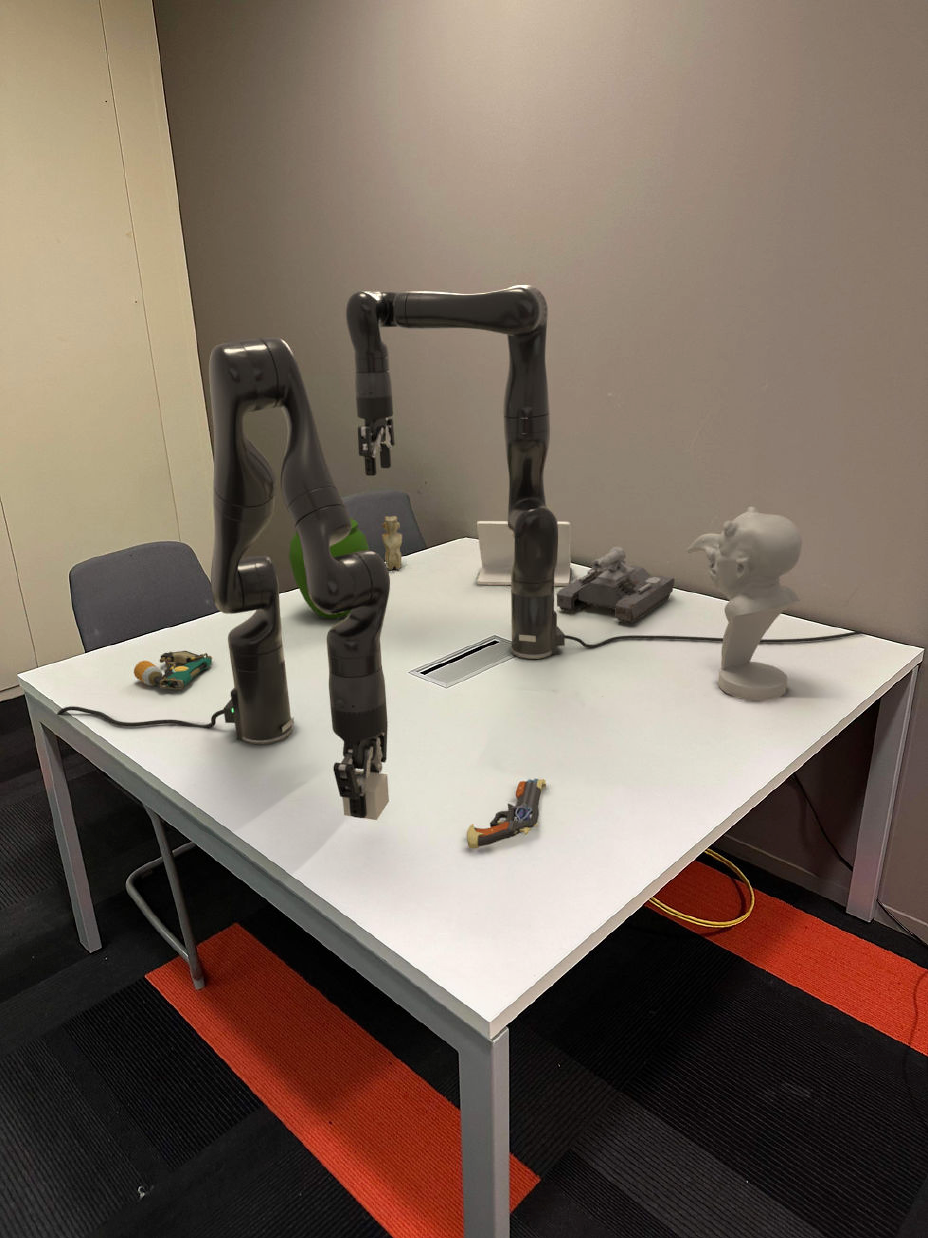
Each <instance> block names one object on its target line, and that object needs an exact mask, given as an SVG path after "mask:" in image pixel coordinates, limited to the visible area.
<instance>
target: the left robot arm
mask: <svg viewBox="0 0 928 1238" xmlns="http://www.w3.org/2000/svg"><path fill="white" fill-rule="evenodd" d="M208 377H209V378H208V379H209V391H210V402H211V412H212V424H213V438H214V439H213V440H214V441H213V442H214V444H213V445H214V449H213V451H214V459H213V464H214V465H213V484H212V485H213V487H212V489H213V490H212V491H213V493H212V494H213V496H212V499H213V520H214V521H213V522H214V523H213V524H214V540H213V541H214V542H213V551H212V560H211V569H210V571H211V572H210V589H211V597H212V600H213V603H214V605H215V607H216V608H217V610H218V611H219V612H221V613H223V614H225V615H226V614H227V615H234V614H235V615H236V614H241V613H247V612H253V611H255V612H253V614H252V615H251V616H250V617H249V618H247V619H246V620H245V621H243V622H241V623H240V624H238V625H236V626H234V627H233V628H232V629H231V630H230V631H229V632H228V636H227V645H228V650H229V658H230V665H231V672H232V679H233V688H232V689H231V691H230V700H229V701H228V702H227V703H226V705H225V706H224V707H223V709H220V710H217V711H216V712H215V713H213V714H212V715H211V718H210V723H207V724H197V723H193V722H188V721H185V720H180V719H155V720H147V721H146V720H145V721H136V722H135V721H134V722H128V721H127V722H126V721H121V720H120V721H119V720H116V719H114V718H112V717H110V716H109V715H107V714H106V713H104V712H101V711H98V710H94V709H89V708H85V707H82V706H72V705H69V706H66V707H62V708H61V709H59V710H58V712H57V713H56V715H57V716H61V715H63V714H65V713H66V712H69V711H74V712H81V713H86V714H89V715H94V716H97V717H100V718H102V719H104V720H105V721H107V722H108V723H110V724H112V725H114V726H118V727H125V728H127V727H129V728H130V727H131V728H132V727H146V726H155V725H179V726H184V727H191V728H200V729H212V728H213V727H215V725H216V723H217V722H216V721H217V718H218V717H219V716H221V715H223V716H224V722H225V724H234V728H235V735H236V740H237V741H238V740H239V741H243V742H245V743H247V744H251V745H268V744H274V743H277V742H280V741H283V740H284V739H286V738H288V737H289V736H290V735H292V733H293V730H294V727H293V725H294V724H295V720H294V717H292V715H291V705H290V704H291V703H290V696H289V688H288V687H289V686H288V679H287V668H286V660H285V651H284V644H283V642H284V641H283V634H282V633H283V632H282V629H283V627H282V618H281V603H280V602H281V601H280V586H279V585H280V583H279V577H278V571H277V567H276V565H275V562H274V561H273V559H272V558H271V557H270V556H269V555H267V554H256V555H250V556H244V555H245V553H246V551H248V549H249V548H250V547H251V546H252V545H253V544H254V543H255V541H256V540H257V539H258V538H259V537H260V536H261V535H262V533H263V532H264V531H265V530H266V528H267V527H268V526H269V524H270V522H271V521H272V519H273V517H274V513H275V510H276V498H277V497H276V496H277V475H276V473H275V470H274V467H273V466H272V464H271V462H270V461H269V460H268V459H267V457H266V456H265V455H264V453H263V452H262V451H261V450H260V449H259V448H258V447H257V446H256V445H255V444H254V442H253V441H252V440H251V439H250V436H249V435H248V434H247V433H246V431H245V428H244V418H245V416H246V415H247V414H248V413H253V412H259V411H264V410H265V411H266V410H270V409H276V408H280V409H281V411H282V413H283V415H284V418H285V421H286V425H287V437H286V445H285V451H284V457H283V461H282V465H281V471H280V490H281V495H282V499H283V502H284V505H285V507H286V509H287V512H288V514H289V516H290V519H291V521H292V523H293V526H294V527H295V531H296V530H297V532H296V533H298V535H299V538H300V542H301V548H302V553H303V559H304V566H305V575H306V585H307V590H308V594H309V597H310V599H311V601H312V602H313V604H314V605H315V606H316V607H317V608H318V609H319V610H321V611H322V612H324V613H326V614H337V613H341V612H344V611H348V610H351V612H350V614H348V615H347V616H345V617H344V619H342V620H341V621H339V622H337V623H335V624H334V625H333V626H331V627H330V629H328V631H327V634H326V650H327V663H328V692H329V694H328V695H329V704H330V705H329V706H330V715H331V728H332V731H333V733H334V734H335V735H336V736H337V737H339V739H341V740H342V741H343V747H342V756H343V759H342V761H341V762H337V761H335V762H334V764H333V767H332V768H333V774H334V778H335V782H336V785H337V790H338V793H339V797H340V798H342V797H345V798H349V803H350V814H351V816H350V817H352V818H357V819H365V816H366V815H367V809H366V796H365V787H366V779H367V778H369V776H370V772H375V773H382V771H383V763H386V761H387V759H388V757H387V752H388V727H389V725H388V723H389V721H388V709H387V707H388V705H387V692H386V680H385V674H384V669H383V664H382V649H381V648H382V647H381V646H382V645H381V635H382V630H383V626H384V621H385V615H386V612H387V606H388V602H389V597H390V591H391V578H390V571H389V569H388V566H387V564H386V562H385V559H383V558H382V556H381V555H380V554H378V553H377V552H375V551H374V550H370V549H369V550H364V551H358V552H354V553H350V554H346V555H341V556H337V557H332V555H331V552H330V546H332V545H334V544H336V543H338V542H340V541H341V540H343V539H344V538H345V537H347V536H348V534H349V533H350V531H351V529H352V523H351V519H350V518H351V517H350V514H349V512H348V509H347V507H346V505H345V503H344V501H343V498H342V496H341V494H340V492H339V489H338V487H337V485H336V482H335V481H334V478H333V476H332V474H331V471H330V469H329V465H328V463H327V460H326V457H325V454H324V450H323V447H322V444H321V443H322V442H321V439H320V436H319V432H318V429H317V425H316V421H315V417H314V415H313V410H312V407H311V404H310V400H309V396H308V394H307V390H306V386H305V383H304V380H303V376H302V373H301V370H300V366H299V364H298V361H297V359H296V356H295V355H294V352H293V351H292V349H291V347H290V346H289V345H288V343H287V342H286V341H285V340H284V339H282V338H280V337H277V336H265V337H264V336H263V337H257V338H251V339H243V340H233V341H227V342H223V343H219V344H217V345H215V346H214V348H213V349H212V350H211V352H210V356H209V363H208ZM356 770H362V771H363V772H357V771H356ZM357 779H359V786H358V782H357Z"/></svg>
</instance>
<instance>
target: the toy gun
mask: <svg viewBox="0 0 928 1238" xmlns="http://www.w3.org/2000/svg"><path fill="white" fill-rule="evenodd" d="M544 788H545V789H546V788H547V781H546V779H544V778H541V779H539V778H533V779H531V778H529V779H527V780H523V781H522V780H521V781H519V782H518V783H517V787H516V789H515V798H516V800H517V802H516V804H515V805H513V804H512V803H507V810H501V811H497V812H496V813H495V816H494V818H493V819H492V820H491V821H490V822H489V827H485V828H479V827H475V825H474V824H473V823H472V824H469V827H468V828H467V830H466V841H467V847H468V849H471V850H472V849H474V850H475V849H478V848H481V847H484V846H489V845H492V844H495V843H498V842H500V841H503V840H506V839H511V838H513V837H516V836H518V835H520V834H522V833H523V834H524V835H525V836H528V834H529V832H530V831H532V828H534V827H538V821H539V817H540V809H539V803H540V800H541V794H542V791H543V789H544ZM500 819H505V820H504V821H500Z"/></svg>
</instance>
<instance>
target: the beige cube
mask: <svg viewBox="0 0 928 1238" xmlns="http://www.w3.org/2000/svg"><path fill="white" fill-rule="evenodd" d="M356 771H357V772H363V770H361V769H356ZM357 782H358V786H359V779H357ZM365 796H366V809H367V815H366V816H365V818H364V819H366V820H373V821H377V820H378V819H379V817H381V815H382V814H383V811H385V809H386V807H387V805H388V804H389V802H390V796H389V781H388V773H383V772H380V773H375V772H370V776H369V778H367V779H366V787H365ZM341 798H342V807H343V816H347V817H352V816H351V814H350V803H349V798H345V797H341Z"/></svg>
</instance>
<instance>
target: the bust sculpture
mask: <svg viewBox="0 0 928 1238" xmlns="http://www.w3.org/2000/svg"><path fill="white" fill-rule="evenodd" d="M802 547H803V546H802V535H801V532H800V530H799V529H798V527H797V526H796V525H795V523H794V522H792V521H791V520H790V519H788V518H786V517H785V516H783V515H778V514H773V513H772V514H771V513H770V514H769V513H761V512H759V511H758V509H757V508H756V507H755V506H749V507H747V510H746V511H745V512H744V513H741V514H740V515H738V516H737V517H735V518H734V519H733V520H726V521H724V523H723V524H722V532H721V533H720V534H718V533H715V532H713V533H712V532H711V533H704V534H701V535H699V536H698V537H697V538H696V539H694V541H693V543H692V544H690V545H689V547H687V548H686V553H689V554H691V553H695V552H700V551H702V552H705V553H706V557H707V560H708V562H709V563H710V564H708V573H709V575H710V579H711V580H712V582H713V583H714V586H715V588H716V589H717V591H720V593H722V594H723V595H724V596H725V597H727V599H728V602H727V603H726V604H725V606H724V614H725V618H726V620H727V622H728V623H727V625H726V628H725V630H724V634H723V637H722V638H723V641H722V645H721V651H720V654H721V663H720V668H719V671H718V680H717V683H718V684H717V685H718V687H719V688H720V690H722V691H723V692H724V693H725V694H728V695H730V696H732V697H735V698H739V699H742V700H749V701H770V700H771V701H772V700H776V699H778V698H779V699H780V698H781V697H782V696H784V695H785V694H786V692H787V685H788V676H787V674H786V673H785V672H784V671H783V670H782V669H780V668H778V667H776V666H774V665H771V664H767V663H764V662H759V661H758V662H757V661H752V658H753V655H754V653H755V652H756V650H757V648H758V646H759V644H760V643H759V642H760V641H761V639H763V637H764V636H765V634H767V632H768V630H769V628H770V627H771V626H772V624H773V623H774V622H775V621H776V619H777V618H778V617H779V616H780V615H781V614H782V613H783V612H785V611H786V610H787V609H788V608H789V607H791V606H792V605H794V604H795V603H797V602H800V601H801V599H800V596H799V595H798V594H797V593H796V591H795V590H794V589H793V588H792V587H790V586H787V585H781V583H780V582H781V578H780V577H781V576H783V575H786V574H788V573H789V572H790V571H791V570H792V569H793V568H795V567H796V565H797V564H798V562H799V559H800V557H801V552H802Z"/></svg>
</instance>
